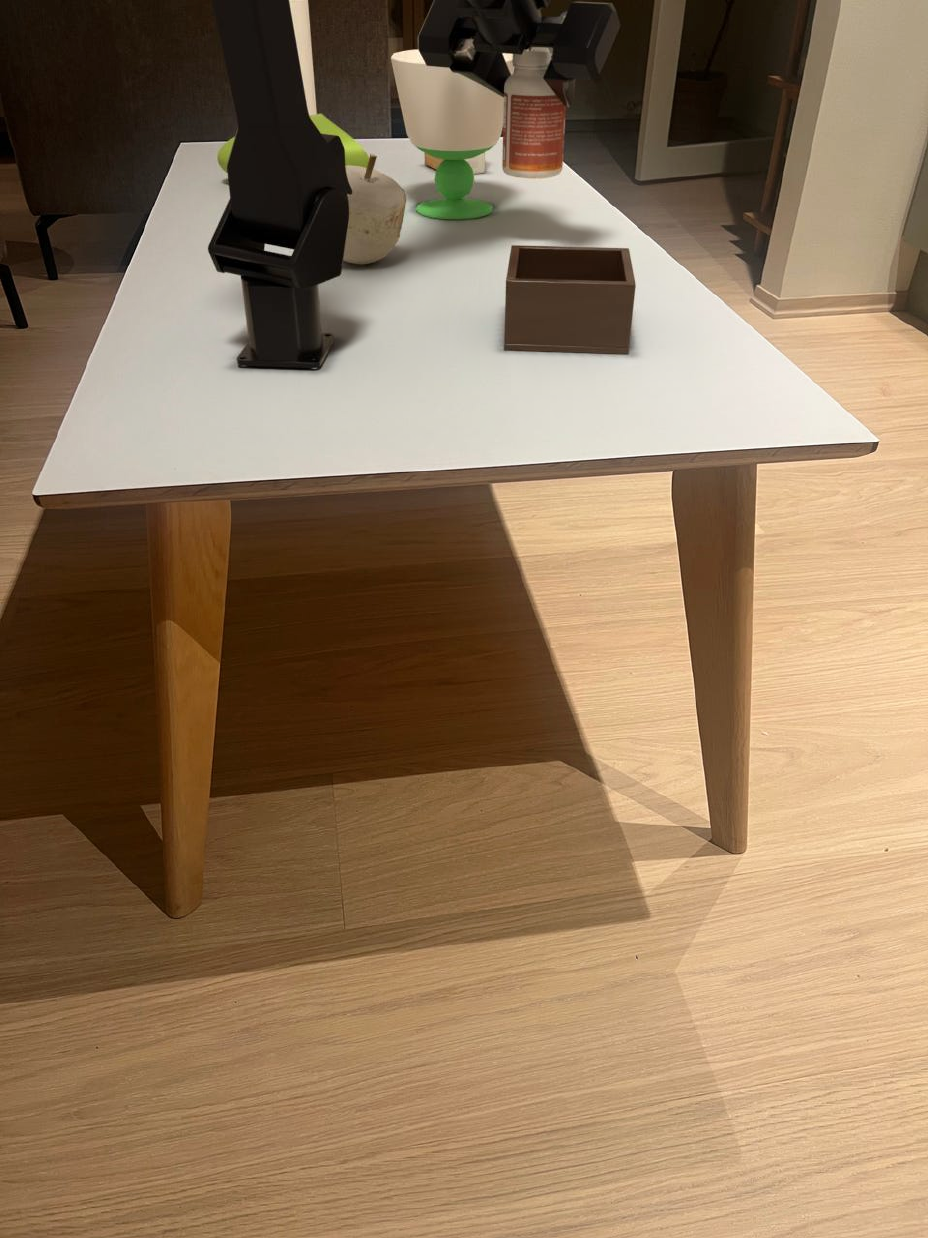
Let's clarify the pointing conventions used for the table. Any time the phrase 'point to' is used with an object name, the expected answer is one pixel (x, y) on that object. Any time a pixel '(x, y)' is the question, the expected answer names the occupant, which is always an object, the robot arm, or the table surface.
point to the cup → (448, 128)
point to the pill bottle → (532, 119)
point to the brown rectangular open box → (569, 299)
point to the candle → (304, 49)
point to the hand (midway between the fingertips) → (541, 99)
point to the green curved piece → (352, 148)
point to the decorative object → (372, 214)
